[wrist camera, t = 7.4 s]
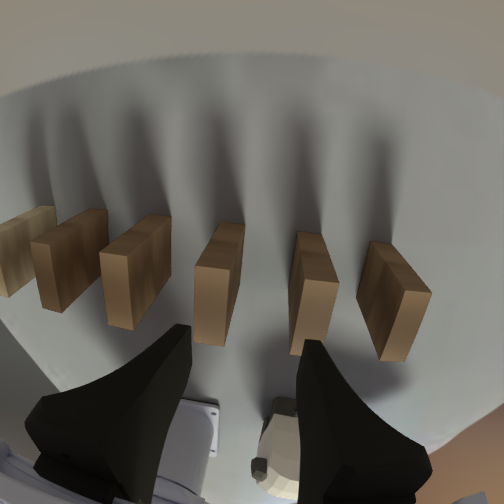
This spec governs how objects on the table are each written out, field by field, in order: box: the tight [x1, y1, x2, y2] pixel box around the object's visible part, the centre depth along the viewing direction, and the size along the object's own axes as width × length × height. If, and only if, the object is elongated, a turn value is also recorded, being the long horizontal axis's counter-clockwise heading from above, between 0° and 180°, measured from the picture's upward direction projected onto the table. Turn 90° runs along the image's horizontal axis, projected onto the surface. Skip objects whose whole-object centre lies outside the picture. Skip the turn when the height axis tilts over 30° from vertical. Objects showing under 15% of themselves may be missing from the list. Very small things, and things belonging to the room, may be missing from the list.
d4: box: [99, 214, 172, 331], centre depth 19 cm, size 4×2×7 cm, turn 174°
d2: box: [288, 231, 339, 356], centre depth 18 cm, size 4×2×7 cm, turn 174°
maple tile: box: [0, 205, 57, 298], centre depth 19 cm, size 4×2×7 cm, turn 175°
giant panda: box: [251, 397, 300, 500], centre depth 23 cm, size 15×6×10 cm, turn 76°
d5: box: [30, 209, 109, 313], centre depth 19 cm, size 4×2×7 cm, turn 174°
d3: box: [194, 222, 245, 347], centre depth 19 cm, size 4×2×7 cm, turn 174°
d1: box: [356, 241, 432, 362], centre depth 18 cm, size 4×2×7 cm, turn 174°
